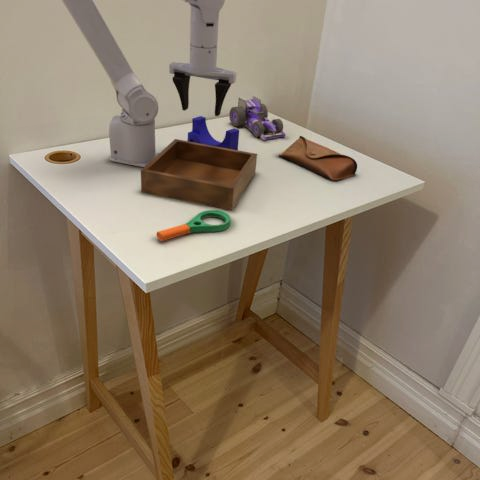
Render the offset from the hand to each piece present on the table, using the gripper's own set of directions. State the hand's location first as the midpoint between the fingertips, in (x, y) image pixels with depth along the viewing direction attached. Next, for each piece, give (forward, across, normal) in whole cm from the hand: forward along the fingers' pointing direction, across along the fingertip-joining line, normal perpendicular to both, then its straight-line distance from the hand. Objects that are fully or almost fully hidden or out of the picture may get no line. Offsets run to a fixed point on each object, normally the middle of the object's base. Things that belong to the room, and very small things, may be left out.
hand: (201, 112), depth 116 cm
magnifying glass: (+10, -11, +35) cm, 38 cm away
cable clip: (+10, -2, -3) cm, 10 cm away
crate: (+9, -6, +16) cm, 19 cm away
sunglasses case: (+10, -27, -5) cm, 29 cm away
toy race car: (+10, -9, -22) cm, 26 cm away
